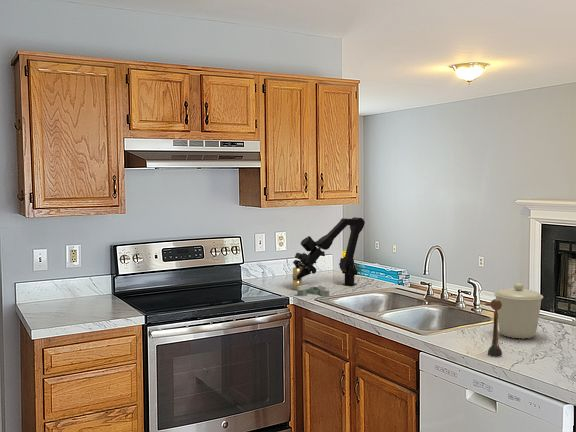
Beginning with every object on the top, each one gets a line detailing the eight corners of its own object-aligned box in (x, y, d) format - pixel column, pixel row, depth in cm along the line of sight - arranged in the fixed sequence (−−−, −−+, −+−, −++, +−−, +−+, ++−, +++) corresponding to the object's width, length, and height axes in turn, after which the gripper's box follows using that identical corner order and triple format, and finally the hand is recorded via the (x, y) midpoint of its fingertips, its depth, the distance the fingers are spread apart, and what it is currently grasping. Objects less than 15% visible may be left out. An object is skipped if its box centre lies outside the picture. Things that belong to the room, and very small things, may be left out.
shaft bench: (313, 290, 335) (313, 281, 334) (338, 294, 323) (338, 285, 323) (292, 294, 322) (292, 285, 321) (317, 299, 310) (317, 289, 310)
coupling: (295, 288, 339) (295, 267, 339) (303, 289, 337) (303, 267, 336) (291, 290, 335) (291, 268, 334) (298, 290, 333) (299, 269, 332)
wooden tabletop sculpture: (483, 355, 214) (484, 299, 213) (486, 351, 218) (487, 296, 217) (500, 357, 211) (502, 300, 210) (503, 354, 215) (504, 298, 214)
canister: (532, 344, 227) (534, 289, 226) (485, 336, 239) (487, 283, 238) (548, 335, 241) (550, 282, 240) (503, 327, 253) (504, 277, 251)
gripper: (295, 245, 344) (278, 266, 340) (311, 249, 328) (293, 270, 324) (308, 258, 349) (290, 279, 344) (324, 262, 332) (306, 284, 328)
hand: (294, 278), depth 335 cm, fingers closed on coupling, 5 cm apart
